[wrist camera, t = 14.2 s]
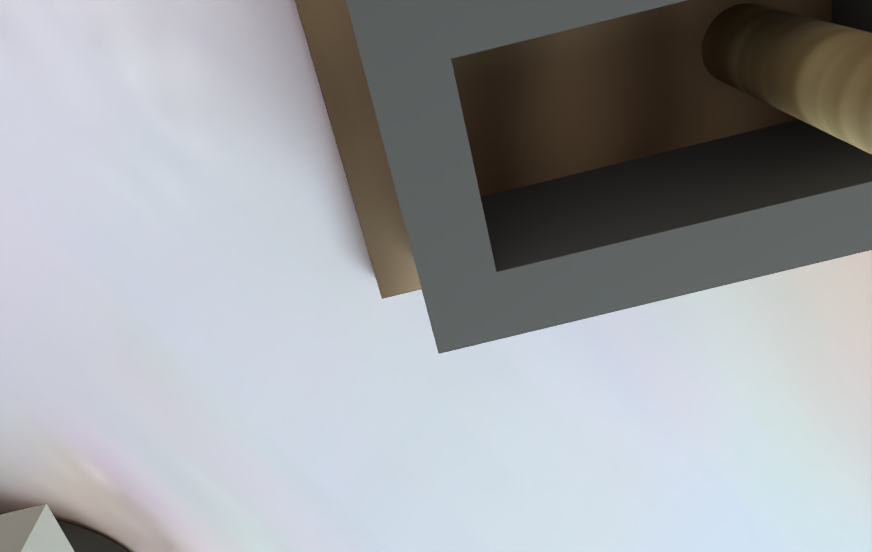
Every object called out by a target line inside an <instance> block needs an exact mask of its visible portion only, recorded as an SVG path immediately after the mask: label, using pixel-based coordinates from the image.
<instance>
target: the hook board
mask: <svg viewBox="0 0 872 552" xmlns="http://www.w3.org/2000/svg"><path fill="white" fill-rule="evenodd" d="M295 2H296V5H297V9H298V12H299V16H300V19H301V23H302V26H303V29H304V33H305V36H306V40H307V43H308V47H309V50H310V53H311V57H312V60H313V64H314V67H315V71H316V74H317V77H318V81H319V84H320V88H321V91H322V95H323V98H324V101H325V105H326V108H327V112H328V115H329V119H330V122H331V125H332V129H333V132H334V136H335V139H336V143H337V146H338V149H339V153H340V156H341V160H342V163H343V167H344V170H345V173H346V177H347V180H348V184H349V187H350V191H351V194H352V197H353V201H354V204H355V208H356V211H357V215H358V218H359V221H360V225H361V228H362V232H363V235H364V239H365V242H366V245H367V249H368V252H369V256H370V259H371V263H372V266H373V269H374V273H375V276H376V280H377V283H378V287H379V290H380V293H381V297H382V299H383V298H387V297H391V296H395V295H399V294H403V293H408V292H412V291H416V290H420V289H422V288H421V284H420V280H419V277H418V273H417V269H416V265H415V261H414V258H413V254H412V250H411V246H410V242H409V239H408V235H407V231H406V227H405V224H404V220H403V216H402V212H401V208H400V205H399V201H398V197H397V193H396V189H395V186H394V182H393V178H392V174H391V170H390V167H389V163H388V159H387V155H386V151H385V148H384V144H383V140H382V136H381V132H380V129H379V125H378V121H377V117H376V113H375V110H374V106H373V102H372V98H371V94H370V91H369V87H368V83H367V79H366V75H365V72H364V68H363V64H362V60H361V56H360V53H359V49H358V45H357V41H356V37H355V34H354V30H353V26H352V22H351V18H350V15H349V11H348V7H347V3H346V0H295ZM451 61H452V65H453V70H454V75H455V80H456V84H457V89H458V94H459V98H460V103H461V108H462V112H463V117H464V122H465V127H466V131H467V136H468V141H469V145H470V150H471V155H472V159H473V164H474V169H475V174H476V178H477V183H478V188H479V192H480V197H483V196H487V195H491V194H495V193H499V192H503V191H507V190H511V189H515V188H519V187H524V186H528V185H532V184H536V183H540V182H544V181H548V180H552V179H556V178H560V177H565V176H569V175H573V174H577V173H581V172H585V171H589V170H593V169H597V168H602V167H606V166H610V165H614V164H618V163H622V162H626V161H630V160H634V159H638V158H643V157H647V156H651V155H655V154H659V153H663V152H667V151H671V150H675V149H679V148H684V147H688V146H692V145H696V144H700V143H704V142H708V141H712V140H716V139H721V138H725V137H729V136H733V135H737V134H741V133H745V132H749V131H753V130H757V129H762V128H766V127H770V126H774V125H778V124H782V123H786V122H790V121H794V120H798V119H800V120H802V121H804V122H806V123H808V124H810V125H812V126H814V127H816V128H818V129H820V130H822V131H824V132H826V133H828V134H830V135H832V136H835V137H837V138H839V139H841V140H843V141H845V142H847V143H849V144H851V145H853V146H855V147H857V148H859V149H861V150H863V151H865V152H867V153H870V154H872V33H870V32H866V31H862V30H858V29H854V28H850V27H846V26H842V25H838V24H834V23H832V0H686V1H682V2H678V3H674V4H670V5H666V6H662V7H658V8H654V9H650V10H646V11H642V12H638V13H634V14H630V15H626V16H622V17H618V18H614V19H610V20H606V21H602V22H598V23H594V24H590V25H585V26H581V27H577V28H573V29H569V30H565V31H561V32H557V33H553V34H549V35H545V36H541V37H537V38H533V39H529V40H525V41H521V42H517V43H513V44H509V45H505V46H501V47H497V48H493V49H488V50H484V51H480V52H476V53H472V54H468V55H464V56H460V57H456V58H452V59H451Z"/></svg>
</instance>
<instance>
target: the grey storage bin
mask: <svg viewBox="0 0 872 552" xmlns="http://www.w3.org/2000/svg"><path fill="white" fill-rule="evenodd" d="M682 1H686V0H346V3H347V7H348V11H349V15H350V18H351V22H352V26H353V30H354V34H355V37H356V41H357V45H358V49H359V53H360V56H361V60H362V64H363V68H364V72H365V75H366V79H367V83H368V87H369V91H370V94H371V98H372V102H373V106H374V110H375V113H376V117H377V121H378V125H379V129H380V132H381V136H382V140H383V144H384V148H385V151H386V155H387V159H388V163H389V167H390V170H391V174H392V178H393V182H394V186H395V189H396V193H397V197H398V201H399V205H400V208H401V212H402V216H403V220H404V224H405V227H406V231H407V235H408V239H409V242H410V246H411V250H412V254H413V258H414V261H415V265H416V269H417V273H418V277H419V280H420V284H421V288H422V292H423V296H424V299H425V303H426V307H427V311H428V315H429V318H430V322H431V326H432V330H433V334H434V337H435V341H436V345H437V349H438V353H443V352H448V351H452V350H456V349H460V348H464V347H469V346H473V345H477V344H481V343H485V342H489V341H494V340H498V339H502V338H506V337H510V336H514V335H519V334H523V333H527V332H531V331H535V330H539V329H544V328H548V327H552V326H556V325H560V324H564V323H569V322H573V321H577V320H581V319H585V318H589V317H594V316H598V315H602V314H606V313H610V312H614V311H619V310H623V309H627V308H631V307H635V306H639V305H644V304H648V303H652V302H656V301H660V300H664V299H669V298H673V297H677V296H681V295H685V294H689V293H694V292H698V291H702V290H706V289H710V288H714V287H719V286H723V285H727V284H731V283H735V282H739V281H744V280H748V279H752V278H756V277H760V276H764V275H769V274H773V273H777V272H781V271H785V270H790V269H794V268H798V267H802V266H806V265H810V264H815V263H819V262H823V261H827V260H831V259H835V258H840V257H844V256H848V255H852V254H856V253H860V252H865V251H869V250H872V154H870V153H867V152H865V151H863V150H861V149H859V148H857V147H855V146H853V145H851V144H849V143H847V142H845V141H843V140H841V139H839V138H837V137H835V136H832V135H830V134H828V133H826V132H824V131H822V130H820V129H818V128H816V127H814V126H812V125H810V124H808V123H806V122H804V121H802V120H800V119H798V120H794V121H790V122H786V123H782V124H778V125H774V126H770V127H766V128H762V129H757V130H753V131H749V132H745V133H741V134H737V135H733V136H729V137H725V138H721V139H716V140H712V141H708V142H704V143H700V144H696V145H692V146H688V147H684V148H679V149H675V150H671V151H667V152H663V153H659V154H655V155H651V156H647V157H643V158H638V159H634V160H630V161H626V162H622V163H618V164H614V165H610V166H606V167H602V168H597V169H593V170H589V171H585V172H581V173H577V174H573V175H569V176H565V177H560V178H556V179H552V180H548V181H544V182H540V183H536V184H532V185H528V186H524V187H519V188H515V189H511V190H507V191H503V192H499V193H495V194H491V195H487V196H483V197H480V192H479V188H478V183H477V178H476V174H475V169H474V164H473V159H472V155H471V150H470V145H469V141H468V136H467V131H466V127H465V122H464V117H463V112H462V108H461V103H460V98H459V94H458V89H457V84H456V80H455V75H454V70H453V65H452V61H451V59H452V58H456V57H460V56H464V55H468V54H472V53H476V52H480V51H484V50H488V49H493V48H497V47H501V46H505V45H509V44H513V43H517V42H521V41H525V40H529V39H533V38H537V37H541V36H545V35H549V34H553V33H557V32H561V31H565V30H569V29H573V28H577V27H581V26H585V25H590V24H594V23H598V22H602V21H606V20H610V19H614V18H618V17H622V16H626V15H630V14H634V13H638V12H642V11H646V10H650V9H654V8H658V7H662V6H666V5H670V4H674V3H678V2H682ZM832 23H834V24H838V25H842V26H846V27H850V28H854V29H858V30H862V31H866V32H870V33H872V0H832Z"/></svg>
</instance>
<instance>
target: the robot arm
mask: <svg viewBox="0 0 872 552" xmlns="http://www.w3.org/2000/svg"><path fill="white" fill-rule="evenodd" d="M0 552H129V551H127V550H126V549H124V548H123V547H121V546H120V545H118V544H116V543H114V542H113V541H111V540H109V539H107V538H105V537H103V536H101V535H99V534H97V533H94V532H92V531H90V530H87V529H84V528H81V527H79V526H75V525H72V524H69V523H65V522H61V521H57V520H56V519H55V517H54V516H53V514H52V512H51V511H50V509H49V507H48V505H47V504H42V505H38V506H34V507H30V508H26V509H21V510H17V511H13V512H9V513H5V514H1V515H0Z"/></svg>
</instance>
